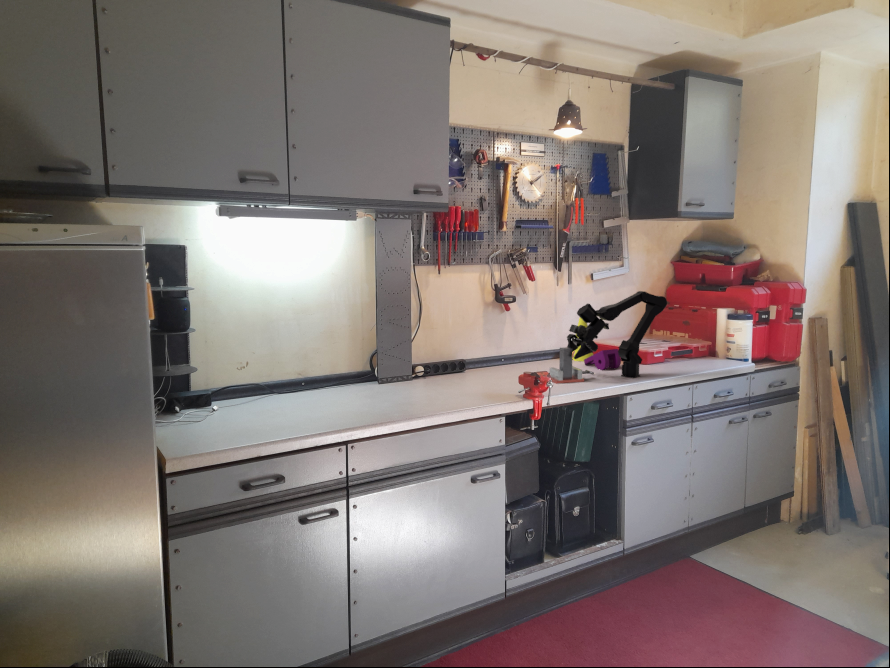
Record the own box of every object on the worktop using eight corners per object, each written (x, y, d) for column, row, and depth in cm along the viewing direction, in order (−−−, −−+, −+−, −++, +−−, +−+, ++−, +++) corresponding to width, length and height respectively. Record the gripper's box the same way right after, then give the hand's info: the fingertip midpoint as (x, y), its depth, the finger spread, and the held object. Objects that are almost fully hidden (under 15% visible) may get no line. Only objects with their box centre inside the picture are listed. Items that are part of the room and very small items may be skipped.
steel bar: (567, 376, 256) (568, 347, 254) (571, 378, 252) (572, 348, 251) (559, 377, 255) (559, 347, 253) (563, 379, 251) (563, 349, 250)
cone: (565, 359, 307) (565, 311, 304) (579, 356, 315) (580, 310, 312) (584, 362, 298) (585, 313, 295) (598, 359, 306) (600, 311, 303)
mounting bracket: (584, 377, 289) (607, 367, 273) (580, 361, 291) (602, 350, 276) (599, 376, 293) (622, 365, 277) (595, 359, 295) (617, 348, 280)
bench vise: (585, 376, 261) (585, 365, 261) (595, 380, 253) (595, 369, 252) (547, 379, 257) (547, 367, 256) (556, 383, 248) (556, 371, 247)
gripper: (570, 315, 261) (548, 341, 260) (591, 319, 243) (567, 347, 242) (586, 332, 264) (564, 358, 263) (608, 337, 246) (584, 365, 245)
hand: (569, 356), depth 253 cm, fingers open, 9 cm apart
